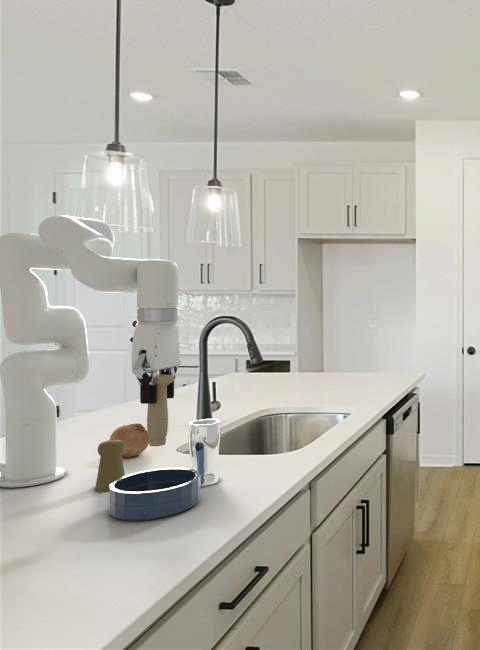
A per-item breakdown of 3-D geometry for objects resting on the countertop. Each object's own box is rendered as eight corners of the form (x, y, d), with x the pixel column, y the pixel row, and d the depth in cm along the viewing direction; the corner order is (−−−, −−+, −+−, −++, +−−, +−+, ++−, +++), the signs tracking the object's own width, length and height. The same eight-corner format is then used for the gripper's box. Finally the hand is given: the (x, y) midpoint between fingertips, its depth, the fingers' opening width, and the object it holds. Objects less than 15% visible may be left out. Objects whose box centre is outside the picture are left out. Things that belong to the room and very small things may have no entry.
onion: (145, 463, 162) (164, 431, 164) (120, 464, 153) (140, 429, 154) (119, 449, 163) (138, 417, 165) (93, 449, 154) (113, 415, 156)
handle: (159, 440, 126) (159, 373, 125) (177, 444, 123) (178, 376, 122) (137, 445, 121) (137, 376, 121) (155, 449, 118) (155, 378, 118)
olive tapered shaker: (132, 484, 136) (132, 439, 136) (107, 492, 130) (107, 445, 130) (114, 481, 138) (114, 436, 138) (89, 488, 132) (89, 442, 132)
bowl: (89, 521, 114) (89, 492, 114) (142, 492, 131) (142, 467, 131) (172, 523, 114) (172, 493, 114) (214, 494, 131) (214, 468, 131)
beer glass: (206, 488, 134) (206, 426, 134) (181, 485, 136) (181, 424, 135) (226, 479, 141) (227, 419, 141) (202, 476, 143) (203, 418, 142)
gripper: (164, 315, 130) (164, 393, 130) (112, 318, 113) (112, 408, 113) (197, 315, 130) (196, 394, 130) (150, 319, 113) (150, 409, 113)
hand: (157, 399), depth 122 cm, fingers closed on handle, 5 cm apart
